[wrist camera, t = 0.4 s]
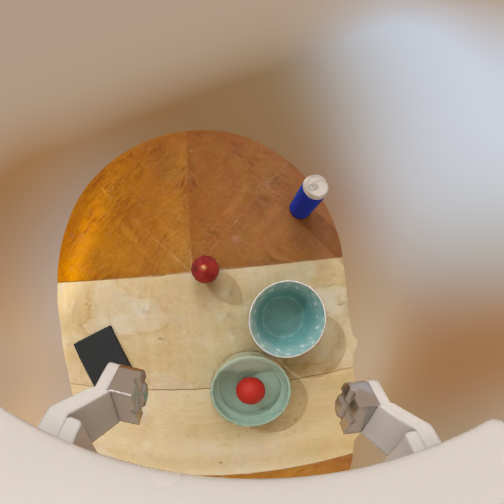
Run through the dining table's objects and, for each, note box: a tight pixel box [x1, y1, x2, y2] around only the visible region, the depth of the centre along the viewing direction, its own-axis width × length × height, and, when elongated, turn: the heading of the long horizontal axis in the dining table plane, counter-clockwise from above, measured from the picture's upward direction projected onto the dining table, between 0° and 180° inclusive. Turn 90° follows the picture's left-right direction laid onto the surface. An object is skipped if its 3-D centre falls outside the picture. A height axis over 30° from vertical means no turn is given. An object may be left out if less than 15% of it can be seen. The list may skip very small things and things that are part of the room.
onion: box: [191, 256, 219, 283], centre depth 57 cm, size 6×6×8 cm
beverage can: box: [290, 175, 328, 219], centre depth 57 cm, size 5×5×15 cm
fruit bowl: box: [210, 351, 291, 427], centre depth 55 cm, size 17×17×6 cm
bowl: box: [248, 280, 326, 358], centre depth 56 cm, size 16×16×8 cm
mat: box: [74, 326, 131, 386], centre depth 56 cm, size 16×13×1 cm
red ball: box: [236, 377, 265, 405], centre depth 54 cm, size 6×6×6 cm
